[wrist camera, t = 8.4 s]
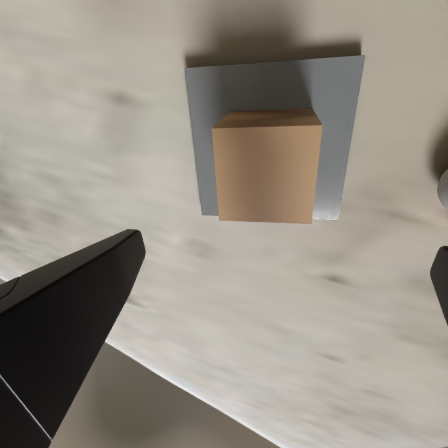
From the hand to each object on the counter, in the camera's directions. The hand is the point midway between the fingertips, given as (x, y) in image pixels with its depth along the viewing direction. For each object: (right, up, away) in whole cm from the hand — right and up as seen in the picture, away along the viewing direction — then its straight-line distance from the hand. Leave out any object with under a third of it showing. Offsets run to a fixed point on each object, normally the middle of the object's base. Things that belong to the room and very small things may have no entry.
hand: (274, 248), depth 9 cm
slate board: (+1, +6, +10) cm, 12 cm away
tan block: (+1, +6, +9) cm, 11 cm away
